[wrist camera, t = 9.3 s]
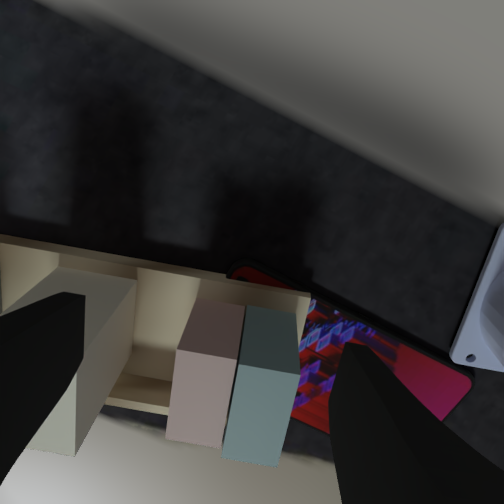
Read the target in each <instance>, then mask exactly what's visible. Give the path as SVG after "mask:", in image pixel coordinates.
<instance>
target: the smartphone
mask: <svg viewBox="0 0 504 504" xmlns="http://www.w3.org/2000/svg"><path fill="white" fill-rule="evenodd" d="M226 278H227V279H232V280H237V281H243V282H249V283H255V284H261V285H266V286H272V287H278V288H284V289H289V290H295V291H300V292H307V293H310V295H311V300H310V304H309V308H308V312H307V316H306V320H305V324H304V328H303V333H302V337H301V341H300V345H299V360H300V373H301V376H300V380H299V384H298V388H297V392H296V395H295V399H294V403H293V407H292V411H291V415H290V419H292V420H294V421H296V422H299V423H301V424H303V425H305V426H307V427H309V428H312V429H314V430H316V431H318V432H320V433H322V434H325V435H327V436H329V437H330V432H329V414H328V399H329V396H330V393H331V389H332V386H333V382H334V379H335V375H336V372H337V369H338V365H339V362H340V358H341V355H342V351H343V348H344V345H345V342H350V343H356V344H362V345H367V346H368V347H369V348H370V349H372V351H373V352H374V353H375V354H376V355H377V356H378V357H379V358H380V359H381V360H382V361H383V362H384V363H385V365H386V366H387V367H388V368H389V369H390V370H391V371H392V372H393V373H394V374H395V376H396V377H397V378H398V379H399V380H400V381H401V382H402V383H403V384H404V385H405V386H406V387H407V388H408V389H409V390H410V391H411V393H412V394H413V395H414V396H415V397H416V398H417V399H418V400H419V401H420V402H421V403H422V404H423V405H424V406H425V407H427V408H428V409H429V410H430V411H431V412H432V413H433V414H434V415H435V416H436V417H437V418H438V419H439V420H440V421H441V422H442V423H444V421H445V420H446V419H447V418H448V417H449V416H450V415H451V414H452V413H453V411H454V410H455V409H456V408H457V407H458V406H459V405H460V404H461V403H462V401H463V400H464V399H465V398H466V397H467V396H468V395H469V394H470V393H471V392H472V390H473V389H474V386H475V379H474V377H473V375H472V374H471V372H470V371H469V370H467V369H466V368H464V367H462V366H460V365H458V364H456V363H454V362H452V361H450V360H448V359H446V358H444V357H442V356H440V355H438V354H436V353H434V352H432V351H431V350H429V349H427V348H425V347H423V346H421V345H419V344H417V343H415V342H413V341H411V340H409V339H407V338H405V337H403V336H401V335H399V334H397V333H396V332H394V331H392V330H390V329H388V328H386V327H384V326H382V325H380V324H378V323H376V322H374V320H372V319H370V318H368V317H366V316H364V315H362V314H360V313H359V312H355V311H353V310H351V309H349V308H347V307H345V306H343V305H341V304H339V303H337V302H335V301H333V300H331V299H329V298H327V297H326V296H324V295H322V294H320V293H318V292H316V291H314V290H312V289H310V288H308V287H306V286H304V284H302V283H300V282H298V281H296V280H294V279H290V278H289V277H287V276H285V275H283V274H281V273H279V272H277V271H275V270H273V269H271V268H269V267H267V266H265V265H263V264H261V263H259V262H257V261H255V260H253V259H250V258H243V259H239V260H237V261H236V262H234V263H233V264H232V265H231V267H230V269H229V270H228V272H227V274H226Z"/></svg>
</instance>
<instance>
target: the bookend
mask: <svg viewBox="0 0 504 504" xmlns="http://www.w3.org/2000/svg"><path fill="white" fill-rule="evenodd" d="M1 313H2V291H1V270H0V314H1Z"/></svg>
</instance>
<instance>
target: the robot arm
mask: <svg viewBox="0 0 504 504" xmlns="http://www.w3.org/2000/svg"><path fill="white" fill-rule="evenodd" d="M85 300H86V295H81V294H75V293H70V292H60V293H57V294H54V295H51V296H49V297H46V298H44V299H41V300H39V301H36V302H34V303H31V304H29V305H27V306H24V307H22V308H19V309H17V310H14V311H12V312H9V313H7V314H5V315H2V316H0V485H1V484H2V482H3V480H4V478H5V477H6V475H7V474H8V472H9V471H10V469H11V467H12V466H13V465H14V463H15V462H16V460H17V458H18V457H19V456H20V454H21V453H22V452H23V450H24V449H25V448H26V446H27V445H28V443H29V442H30V441H31V439H32V438H33V436H34V435H35V434H36V432H37V431H38V429H39V428H40V427H41V425H42V424H43V423H44V421H45V420H46V418H47V417H48V416H49V414H50V413H51V411H52V410H53V409H54V407H55V406H56V404H57V403H58V402H59V400H60V399H61V397H62V396H63V394H64V393H65V392H66V390H67V389H68V387H69V385H70V383H71V381H72V380H73V378H74V376H75V374H76V372H77V370H78V368H79V366H80V364H81V362H82V360H83V358H84V332H85ZM469 354H473V355H472V356H471V357H470V358H466V357H467V355H469ZM449 355H450V358H451V359H452V361H453V362H454V363H457V364H461V365H467V366H473V367H478V368H484V369H489V370H495V371H501V372H504V222H503V223H502V224H501V225H500V227H499V229H498V231H497V234H496V236H495V239H494V241H493V244H492V246H491V249H490V251H489V254H488V257H487V259H486V262H485V264H484V267H483V269H482V272H481V274H480V277H479V279H478V282H477V284H476V287H475V289H474V292H473V294H472V297H471V299H470V302H469V304H468V307H467V309H466V312H465V314H464V317H463V319H462V322H461V324H460V327H459V329H458V332H457V334H456V337H455V339H454V342H453V344H452V347H451V349H450V353H449ZM328 414H329V432H330V440H331V446H332V451H333V457H334V463H335V468H336V473H337V479H338V484H339V490H340V495H341V500H342V504H504V471H503V470H502V469H500V468H499V467H497V466H496V465H495V464H493V463H492V462H490V461H489V460H488V459H486V458H485V457H484V456H482V455H481V454H480V453H478V452H477V451H476V450H475V449H473V448H472V447H471V446H470V445H469V444H467V443H466V442H465V441H464V440H462V439H461V438H460V437H459V436H458V435H456V434H455V433H454V432H453V431H452V430H450V429H449V428H448V427H447V426H446V425H445V424H444V423H442V422H441V421H440V420H439V419H438V418H437V417H436V416H435V415H434V414H433V413H432V412H431V411H430V410H429V409H428V408H427V407H425V406H424V405H423V404H422V403H421V402H420V401H419V400H418V399H417V398H416V397H415V396H414V395H413V394H412V393H411V391H410V390H409V389H408V388H407V387H406V386H405V385H404V384H403V383H402V382H401V381H400V380H399V379H398V378H397V377H396V376H395V374H394V373H393V372H392V371H391V370H390V369H389V368H388V367H387V366H386V365H385V363H384V362H383V361H382V360H381V359H380V358H379V357H378V356H377V355H376V354H375V353H374V352H373V351H372V349H370V348H369V347H368V346H367V345H362V344H356V343H350V342H345V345H344V348H343V351H342V355H341V358H340V362H339V365H338V369H337V372H336V375H335V379H334V382H333V386H332V389H331V393H330V396H329V399H328Z"/></svg>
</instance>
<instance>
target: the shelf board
mask: <svg viewBox="0 0 504 504" xmlns="http://www.w3.org/2000/svg"><path fill="white" fill-rule="evenodd" d="M58 266H60V267H65V268H71V269H77V270H82V271H88V272H94V273H99V274H105V275H111V276H117V277H122V278H128V279H134V280H137V290H136V303H135V316H134V329H133V342H132V353H131V355H130V357H129V359H128V361H127V363H126V364H125V366H124V368H123V370H122V372H121V373H120V375H119V377H118V379H117V381H116V383H115V384H114V386H113V388H112V390H111V392H110V393H109V395H108V397H107V399H106V401H105V403H104V404H107V405H113V406H118V407H124V408H130V409H135V410H141V411H147V412H152V413H158V414H164V415H168V414H169V406H170V398H171V390H172V382H173V373H174V365H175V357H176V349H177V347H178V344H179V341H180V339H181V336H182V334H183V331H184V329H185V326H186V323H187V321H188V318H189V316H190V313H191V310H192V308H193V305H194V303H195V300H196V298H201V299H207V300H213V301H218V302H224V303H229V304H235V305H241V306H245V310H244V317H243V323H242V330H241V336H242V331H243V326H244V320H245V315H246V310H247V305H251V306H256V307H262V308H267V309H273V310H279V311H284V312H290V313H295V314H296V320H297V333H298V346H299V345H300V341H301V337H302V333H303V328H304V324H305V320H306V316H307V312H308V308H309V304H310V300H311V295H310V293H307V292H300V291H295V290H289V289H284V288H278V287H272V286H266V285H261V284H255V283H249V282H243V281H237V280H232V279H227V278H226V274H221V273H215V272H210V271H204V270H199V269H193V268H188V267H182V266H176V265H171V264H165V263H160V262H154V261H148V260H143V259H137V258H132V257H126V256H120V255H115V254H109V253H104V252H98V251H92V250H87V249H81V248H76V247H70V246H65V245H59V244H53V243H48V242H42V241H37V240H31V239H25V238H20V237H14V236H9V235H3V234H0V270H1V291H2V312H4V311H5V310H6V309H7V308H9V307H10V306H11V305H12V304H13V303H15V302H16V301H17V300H18V299H19V298H21V297H22V296H23V295H24V294H26V293H27V292H28V291H29V290H30V289H32V288H33V287H34V286H35V285H36V284H38V283H39V282H40V281H41V280H43V279H44V278H45V277H46V276H47V275H49V274H50V273H51V272H52V271H53V270H55V269H56V268H57V267H58ZM240 342H241V337H240ZM239 347H240V343H239ZM238 352H239V350H238ZM237 358H238V356H237ZM236 363H237V362H236ZM234 374H235V373H234ZM233 379H234V378H233ZM231 391H232V389H231ZM230 397H231V395H230ZM229 404H230V400H229ZM228 410H229V405H228ZM227 417H228V411H227V416H226V421H225V425H226V423H227Z"/></svg>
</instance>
